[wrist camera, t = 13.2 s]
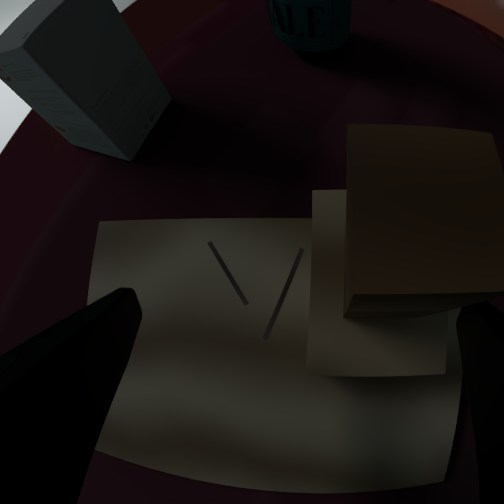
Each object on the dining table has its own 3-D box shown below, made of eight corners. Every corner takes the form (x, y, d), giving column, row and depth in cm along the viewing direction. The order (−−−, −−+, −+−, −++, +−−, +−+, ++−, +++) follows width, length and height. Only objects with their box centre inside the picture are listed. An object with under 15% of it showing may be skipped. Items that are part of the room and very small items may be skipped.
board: (435, 472, 13) (443, 481, 11) (97, 440, 17) (84, 445, 15) (448, 231, 16) (458, 222, 15) (111, 228, 20) (99, 221, 19)
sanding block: (427, 367, 13) (560, 410, 3) (310, 367, 15) (256, 433, 5) (424, 213, 15) (502, 66, 5) (316, 212, 17) (278, 52, 6)
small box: (174, 99, 22) (99, -28, 10) (132, 164, 21) (19, 46, 9) (109, 91, 25) (35, -3, 12) (71, 145, 24) (-23, 61, 11)
